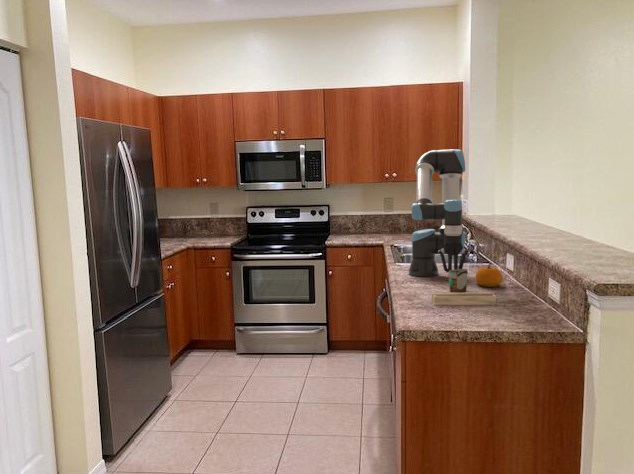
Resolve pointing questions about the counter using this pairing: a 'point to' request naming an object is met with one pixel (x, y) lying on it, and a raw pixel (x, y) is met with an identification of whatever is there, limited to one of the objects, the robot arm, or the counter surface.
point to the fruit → (488, 277)
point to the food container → (458, 280)
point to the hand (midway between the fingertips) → (452, 286)
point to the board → (464, 298)
